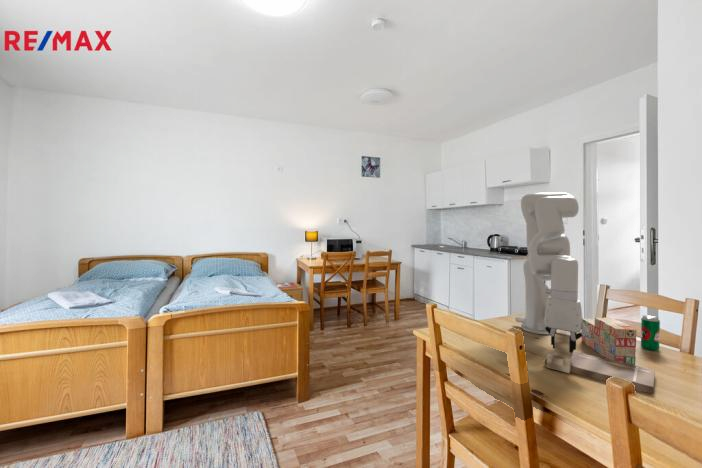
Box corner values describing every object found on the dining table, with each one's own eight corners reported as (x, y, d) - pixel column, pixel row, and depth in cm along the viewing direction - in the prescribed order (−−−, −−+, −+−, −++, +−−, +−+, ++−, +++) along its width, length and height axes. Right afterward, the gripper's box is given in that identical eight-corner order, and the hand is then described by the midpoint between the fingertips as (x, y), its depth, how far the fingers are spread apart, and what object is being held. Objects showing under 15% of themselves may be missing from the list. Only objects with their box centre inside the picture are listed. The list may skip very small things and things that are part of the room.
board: (545, 365, 106) (545, 359, 106) (556, 352, 116) (556, 347, 116) (653, 394, 87) (653, 386, 87) (654, 376, 97) (655, 369, 97)
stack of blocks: (580, 341, 127) (581, 310, 127) (598, 342, 126) (598, 311, 126) (614, 364, 106) (615, 327, 106) (636, 365, 105) (636, 328, 105)
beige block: (546, 367, 103) (546, 337, 103) (557, 354, 114) (558, 326, 113) (568, 373, 99) (568, 342, 98) (578, 359, 109) (578, 330, 109)
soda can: (658, 352, 115) (659, 319, 115) (639, 348, 119) (640, 316, 118) (660, 349, 118) (660, 317, 118) (641, 345, 122) (642, 314, 122)
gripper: (532, 293, 109) (532, 346, 110) (593, 301, 97) (592, 360, 98) (538, 289, 114) (538, 340, 115) (597, 297, 103) (596, 353, 103)
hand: (563, 348), depth 106 cm, fingers closed on beige block, 4 cm apart
